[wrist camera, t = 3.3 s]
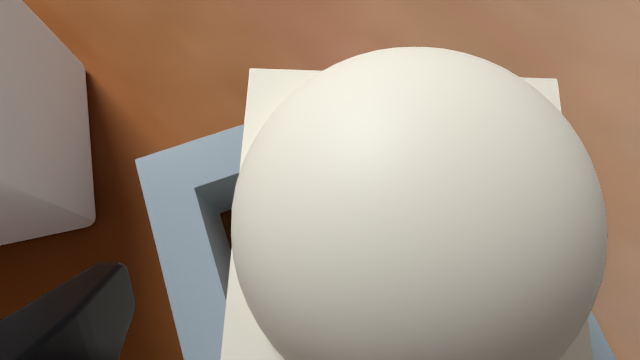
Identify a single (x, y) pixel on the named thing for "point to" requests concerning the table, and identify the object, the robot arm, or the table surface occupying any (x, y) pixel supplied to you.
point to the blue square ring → (210, 237)
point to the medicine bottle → (41, 131)
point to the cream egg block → (411, 215)
